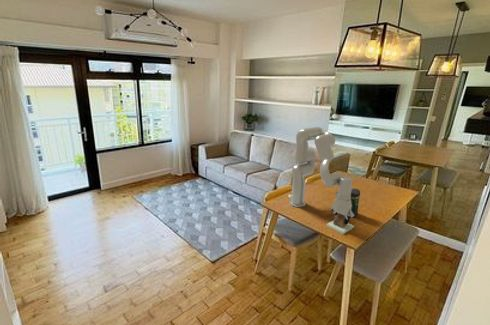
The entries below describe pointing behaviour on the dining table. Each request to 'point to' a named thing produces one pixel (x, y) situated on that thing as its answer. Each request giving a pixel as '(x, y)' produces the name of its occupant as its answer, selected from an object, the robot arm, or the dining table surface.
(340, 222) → the walnut cube
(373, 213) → the dining table surface
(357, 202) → the coffee jar
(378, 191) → the dining table surface
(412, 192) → the dining table surface
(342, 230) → the plate
